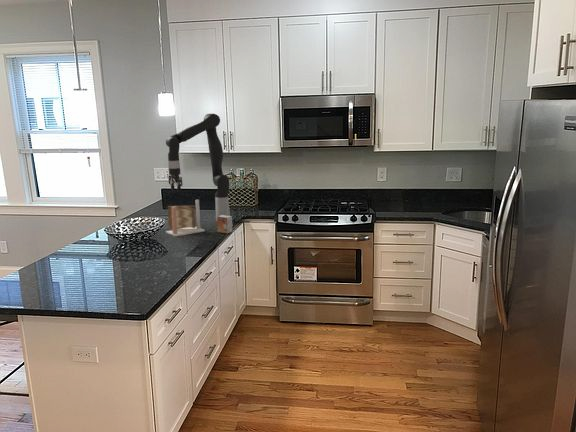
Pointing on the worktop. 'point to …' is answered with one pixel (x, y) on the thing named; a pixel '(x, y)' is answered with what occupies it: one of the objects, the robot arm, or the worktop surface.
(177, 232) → the gate frame
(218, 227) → the small box
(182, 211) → the panel
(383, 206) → the worktop surface
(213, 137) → the robot arm
